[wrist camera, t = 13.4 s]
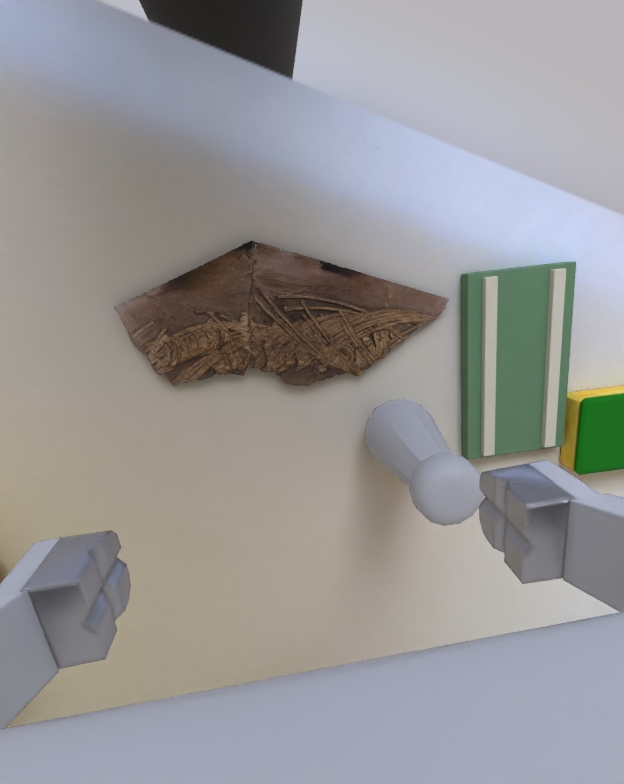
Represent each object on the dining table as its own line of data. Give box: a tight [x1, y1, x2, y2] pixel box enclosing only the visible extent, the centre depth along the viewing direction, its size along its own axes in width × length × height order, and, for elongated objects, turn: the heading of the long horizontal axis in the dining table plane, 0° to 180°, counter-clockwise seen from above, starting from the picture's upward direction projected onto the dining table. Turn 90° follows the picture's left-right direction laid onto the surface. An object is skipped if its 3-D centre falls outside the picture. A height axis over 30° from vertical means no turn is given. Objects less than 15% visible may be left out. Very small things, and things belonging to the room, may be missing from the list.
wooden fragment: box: [114, 241, 449, 386], centre depth 33 cm, size 26×11×1 cm, turn 89°
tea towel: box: [461, 262, 576, 460], centre depth 35 cm, size 16×9×2 cm, turn 6°
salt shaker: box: [365, 399, 484, 526], centre depth 30 cm, size 6×6×13 cm
